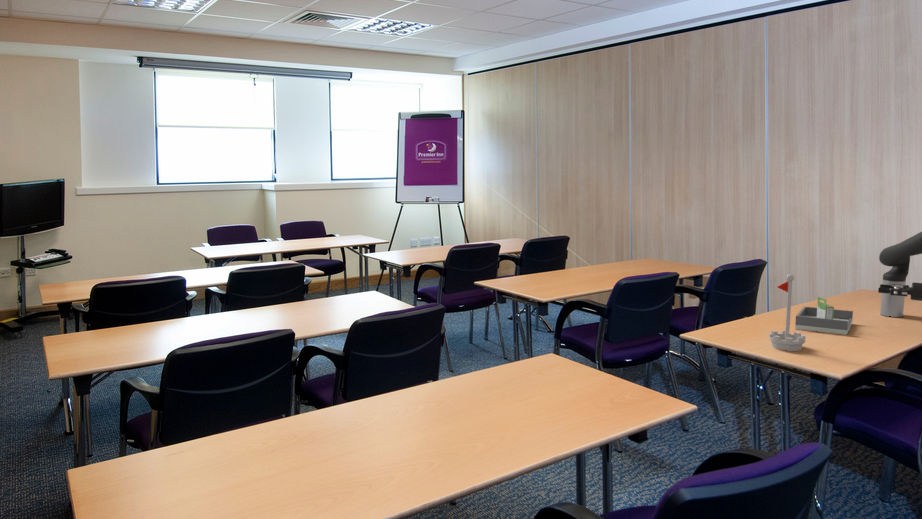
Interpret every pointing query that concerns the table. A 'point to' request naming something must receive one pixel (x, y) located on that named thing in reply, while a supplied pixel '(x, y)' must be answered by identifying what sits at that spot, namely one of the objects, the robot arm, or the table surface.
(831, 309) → the ink box
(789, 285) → the flag stand
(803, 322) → the tray
